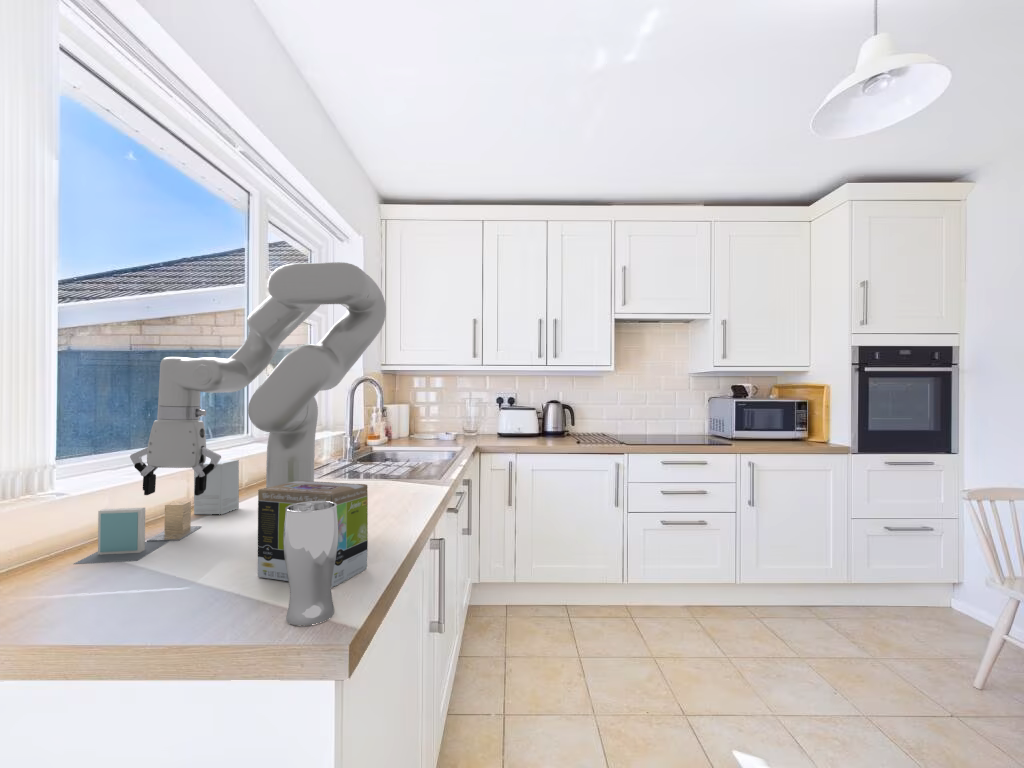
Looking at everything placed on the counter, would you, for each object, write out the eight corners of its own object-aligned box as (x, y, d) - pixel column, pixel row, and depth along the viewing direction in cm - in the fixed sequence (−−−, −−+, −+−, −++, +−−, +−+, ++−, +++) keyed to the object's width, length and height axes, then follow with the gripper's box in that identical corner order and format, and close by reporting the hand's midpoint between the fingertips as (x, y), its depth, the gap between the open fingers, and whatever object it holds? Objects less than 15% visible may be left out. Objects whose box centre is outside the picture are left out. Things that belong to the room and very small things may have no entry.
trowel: (179, 543, 102) (179, 509, 102) (146, 544, 101) (146, 510, 101) (201, 529, 112) (201, 498, 112) (171, 530, 111) (172, 499, 111)
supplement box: (239, 508, 131) (240, 459, 131) (220, 515, 124) (221, 463, 124) (213, 507, 132) (213, 459, 132) (192, 514, 124) (193, 463, 125)
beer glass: (284, 632, 64) (285, 514, 64) (281, 611, 70) (282, 503, 71) (341, 621, 67) (342, 508, 68) (333, 601, 74) (334, 498, 74)
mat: (169, 542, 102) (169, 540, 102) (137, 562, 90) (137, 560, 90) (113, 544, 100) (113, 543, 100) (73, 565, 88) (73, 563, 88)
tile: (103, 551, 95) (103, 509, 95) (144, 549, 96) (145, 507, 96) (97, 555, 93) (97, 511, 93) (139, 552, 94) (140, 509, 94)
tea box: (369, 569, 87) (370, 483, 88) (330, 590, 78) (331, 494, 78) (299, 559, 92) (299, 477, 92) (254, 578, 83) (255, 487, 83)
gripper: (228, 414, 114) (224, 490, 114) (143, 412, 111) (139, 490, 111) (215, 416, 107) (211, 498, 107) (123, 414, 104) (119, 497, 104)
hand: (174, 494), depth 109 cm, fingers open, 9 cm apart
